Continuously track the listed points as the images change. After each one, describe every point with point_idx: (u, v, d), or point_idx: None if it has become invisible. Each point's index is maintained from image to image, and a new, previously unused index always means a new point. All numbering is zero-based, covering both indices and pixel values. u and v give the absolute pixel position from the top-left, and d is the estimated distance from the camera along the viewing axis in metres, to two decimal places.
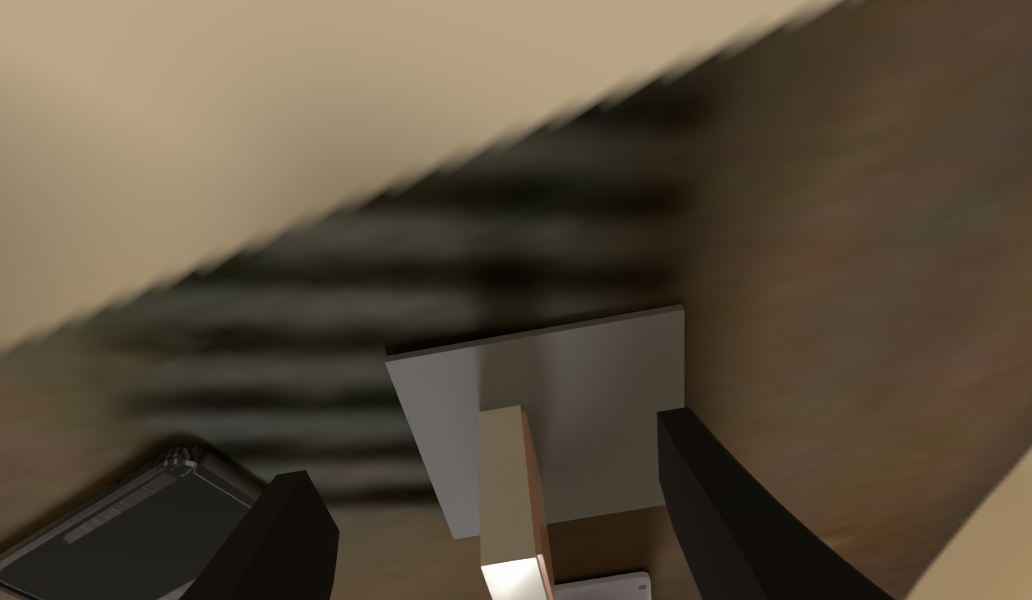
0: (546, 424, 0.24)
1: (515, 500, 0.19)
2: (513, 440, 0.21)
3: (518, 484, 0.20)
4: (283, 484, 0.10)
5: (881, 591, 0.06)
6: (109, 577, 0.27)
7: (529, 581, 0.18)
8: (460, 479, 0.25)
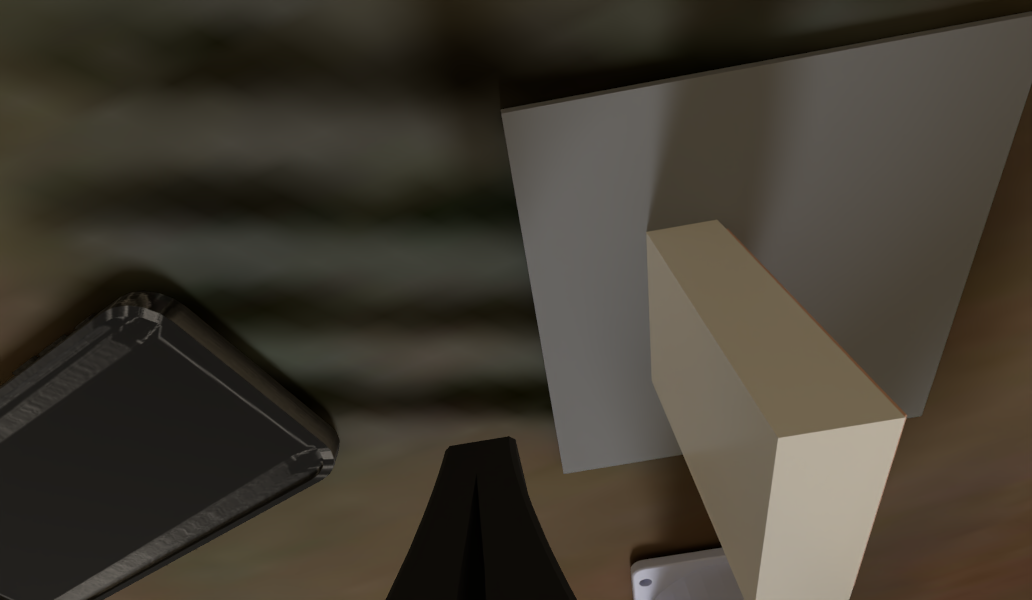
0: None
1: (789, 331, 0.10)
2: (731, 257, 0.12)
3: (780, 309, 0.10)
4: (463, 454, 0.10)
5: None
6: (34, 528, 0.18)
7: (860, 481, 0.08)
8: (591, 366, 0.16)
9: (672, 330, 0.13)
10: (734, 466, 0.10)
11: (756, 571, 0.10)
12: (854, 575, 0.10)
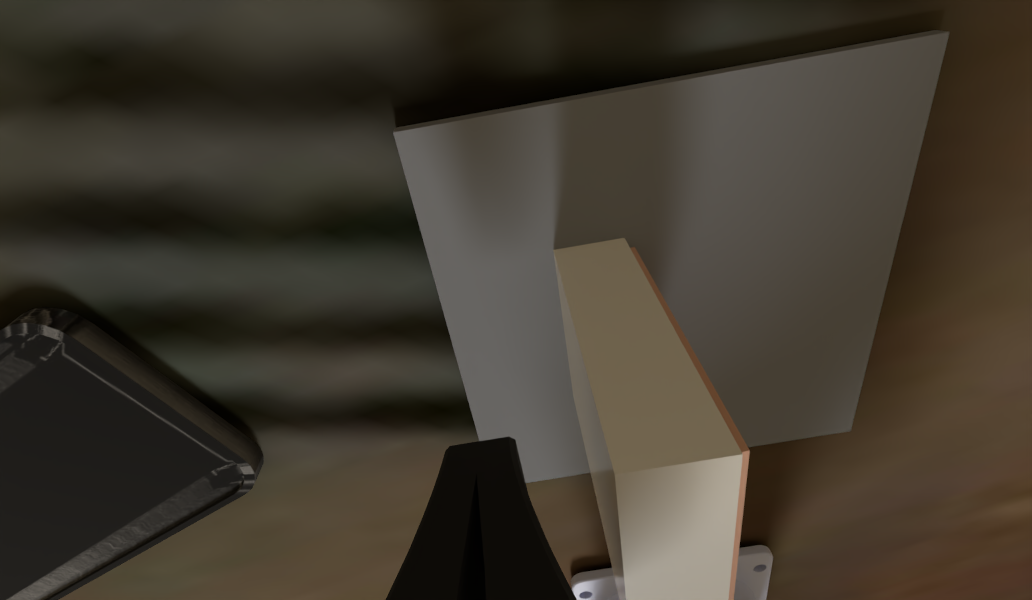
0: (663, 279, 0.14)
1: (658, 359, 0.09)
2: (626, 278, 0.12)
3: (656, 335, 0.10)
4: (463, 454, 0.10)
5: None
6: None
7: (710, 515, 0.08)
8: (510, 382, 0.16)
9: (572, 350, 0.12)
10: (606, 493, 0.10)
11: None
12: None
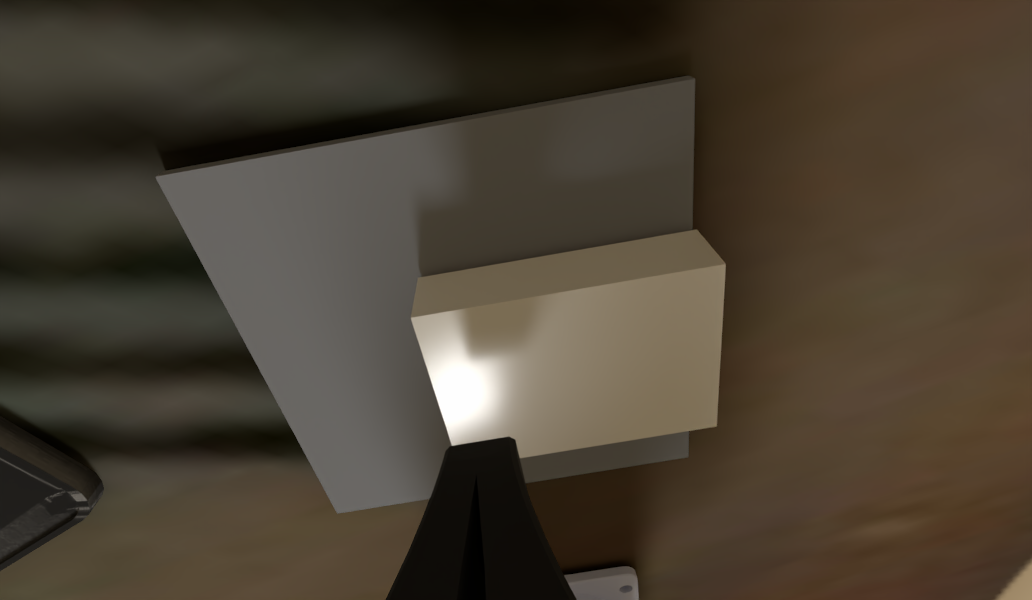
0: None
1: (610, 254, 0.13)
2: (494, 272, 0.13)
3: (582, 256, 0.13)
4: (463, 454, 0.10)
5: None
6: None
7: None
8: (331, 412, 0.16)
9: (516, 357, 0.13)
10: (668, 348, 0.13)
11: (715, 385, 0.14)
12: None
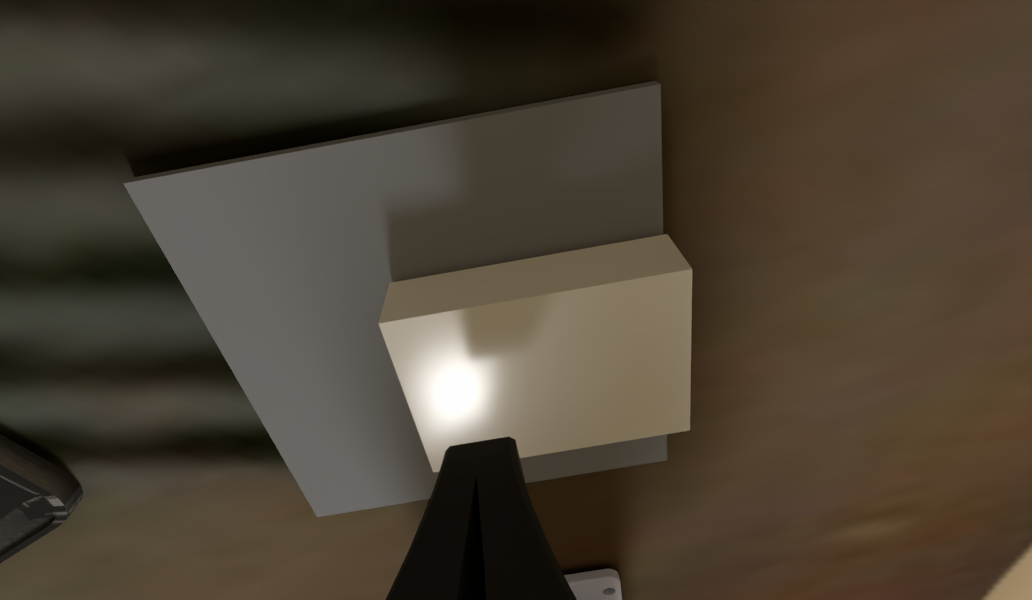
0: None
1: (580, 259, 0.13)
2: (464, 277, 0.13)
3: (552, 261, 0.13)
4: (463, 454, 0.10)
5: None
6: None
7: None
8: (307, 416, 0.16)
9: (486, 362, 0.13)
10: (638, 353, 0.13)
11: (687, 389, 0.14)
12: None
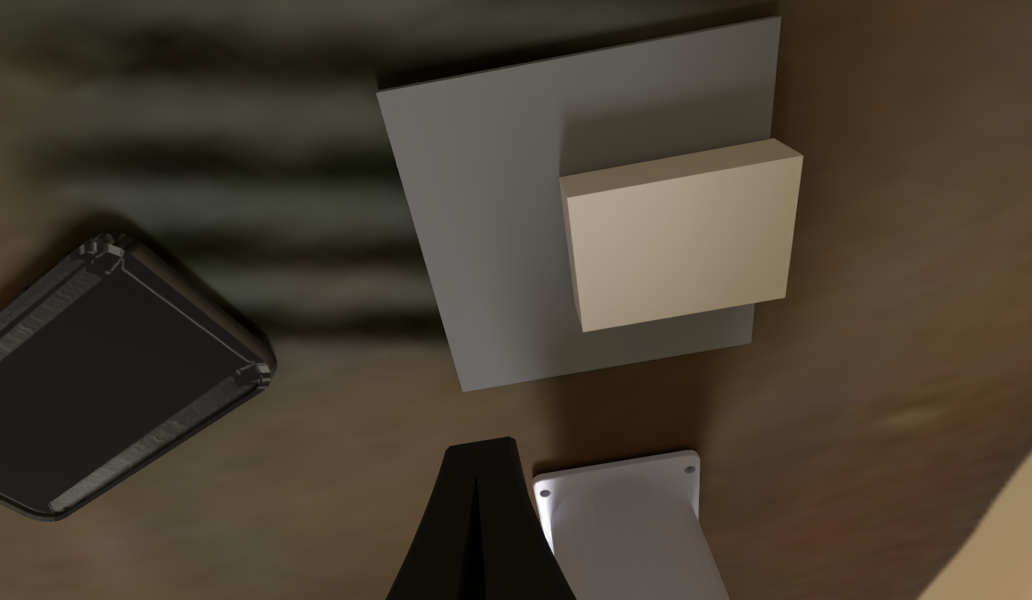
0: None
1: (710, 155, 0.17)
2: (620, 170, 0.17)
3: (687, 158, 0.17)
4: (463, 454, 0.10)
5: None
6: (32, 435, 0.22)
7: None
8: (473, 297, 0.20)
9: (640, 233, 0.17)
10: (754, 227, 0.17)
11: (787, 260, 0.18)
12: None
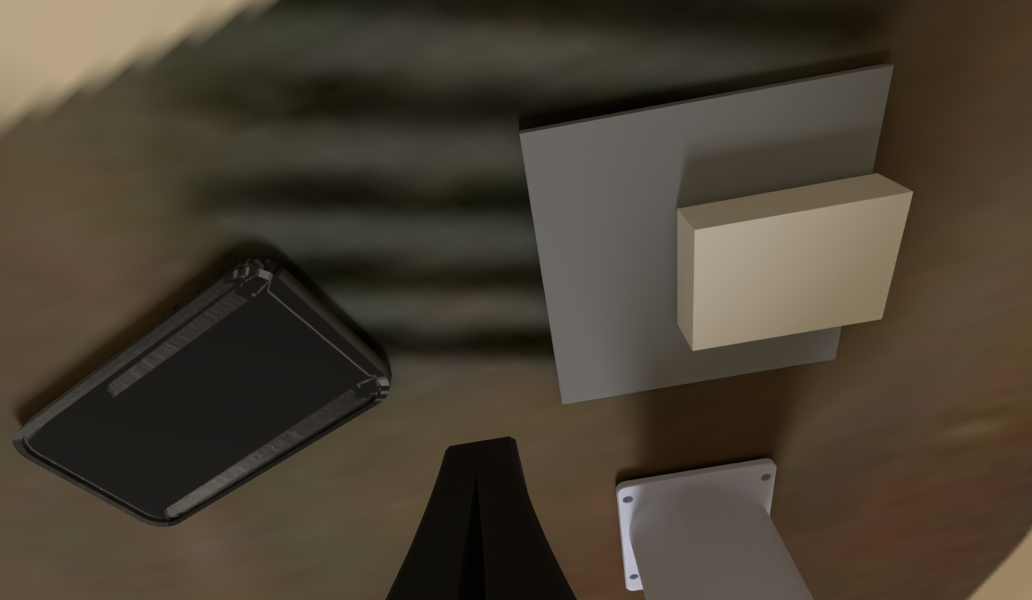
0: None
1: (820, 189, 0.18)
2: (736, 203, 0.18)
3: (798, 191, 0.18)
4: (463, 454, 0.10)
5: None
6: (160, 445, 0.23)
7: None
8: (583, 316, 0.21)
9: (756, 261, 0.18)
10: (861, 255, 0.18)
11: (887, 285, 0.19)
12: None
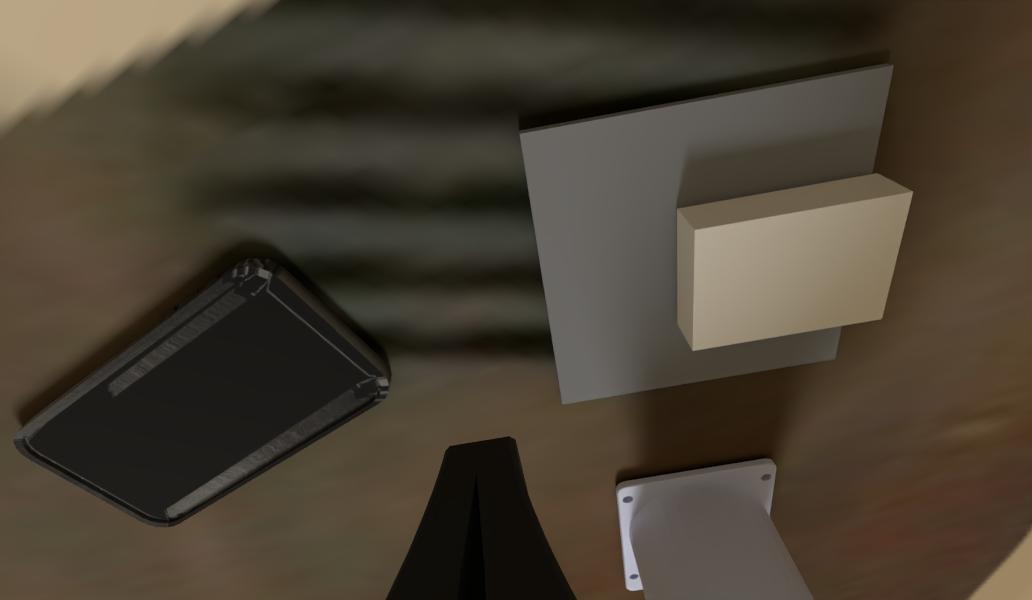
0: None
1: (820, 189, 0.18)
2: (736, 203, 0.18)
3: (798, 191, 0.18)
4: (463, 454, 0.10)
5: None
6: (160, 445, 0.23)
7: None
8: (583, 316, 0.21)
9: (756, 261, 0.18)
10: (861, 255, 0.18)
11: (887, 285, 0.19)
12: None
